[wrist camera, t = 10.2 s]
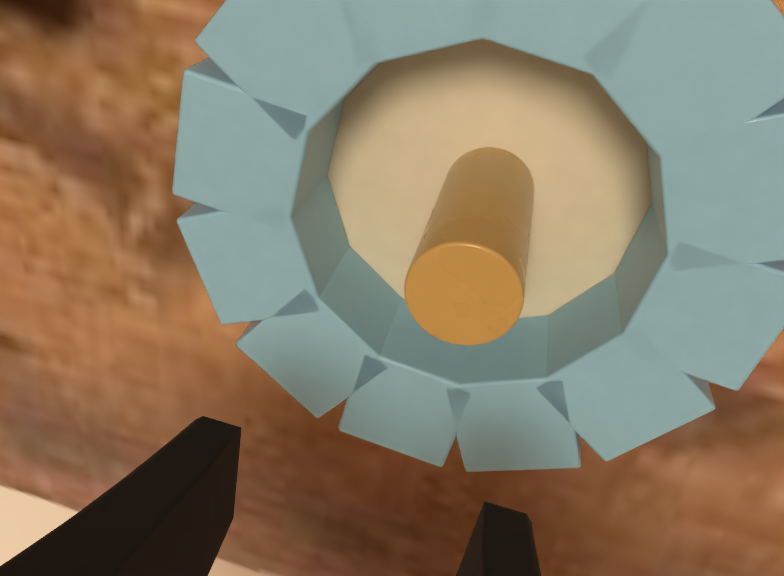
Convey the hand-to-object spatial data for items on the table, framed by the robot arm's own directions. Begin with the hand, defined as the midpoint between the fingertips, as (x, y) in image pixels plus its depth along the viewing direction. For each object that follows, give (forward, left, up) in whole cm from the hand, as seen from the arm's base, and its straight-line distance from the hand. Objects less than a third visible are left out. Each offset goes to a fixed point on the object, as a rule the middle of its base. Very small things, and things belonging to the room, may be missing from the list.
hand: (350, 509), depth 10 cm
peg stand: (-1, -2, -9) cm, 9 cm away
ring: (0, -2, -8) cm, 8 cm away
